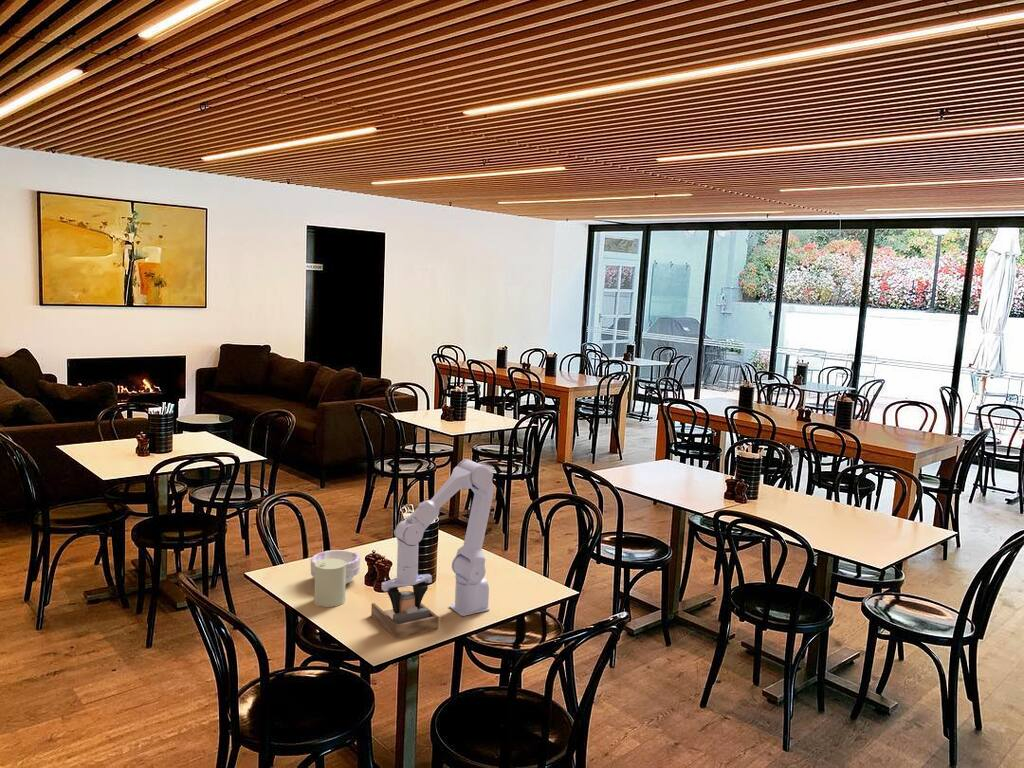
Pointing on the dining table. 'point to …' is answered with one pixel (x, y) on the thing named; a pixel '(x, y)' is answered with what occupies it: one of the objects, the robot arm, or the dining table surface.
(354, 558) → the paper bowls
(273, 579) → the dining table surface
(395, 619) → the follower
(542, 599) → the dining table surface
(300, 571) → the dining table surface
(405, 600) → the jar
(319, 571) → the can
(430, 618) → the brown wooden tray
